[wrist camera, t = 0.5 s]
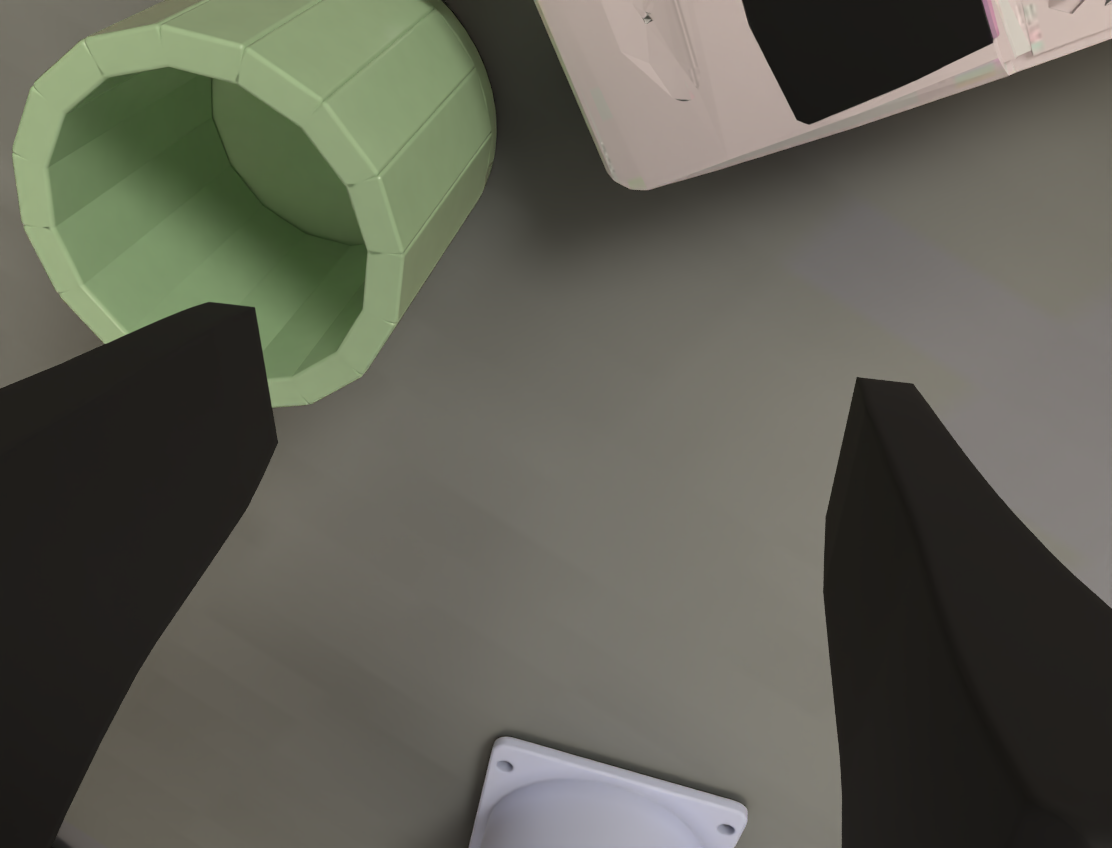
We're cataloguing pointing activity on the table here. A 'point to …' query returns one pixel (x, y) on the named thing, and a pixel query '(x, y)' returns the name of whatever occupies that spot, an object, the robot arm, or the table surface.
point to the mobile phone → (784, 68)
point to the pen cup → (258, 171)
